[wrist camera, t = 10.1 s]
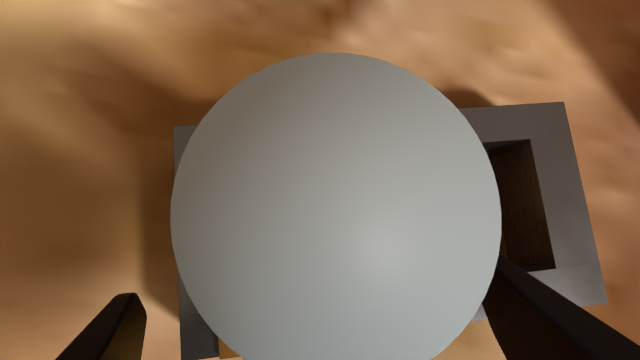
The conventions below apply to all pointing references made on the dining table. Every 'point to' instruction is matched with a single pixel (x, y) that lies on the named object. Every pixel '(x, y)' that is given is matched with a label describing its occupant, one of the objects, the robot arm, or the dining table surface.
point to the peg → (335, 214)
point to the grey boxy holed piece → (516, 210)
